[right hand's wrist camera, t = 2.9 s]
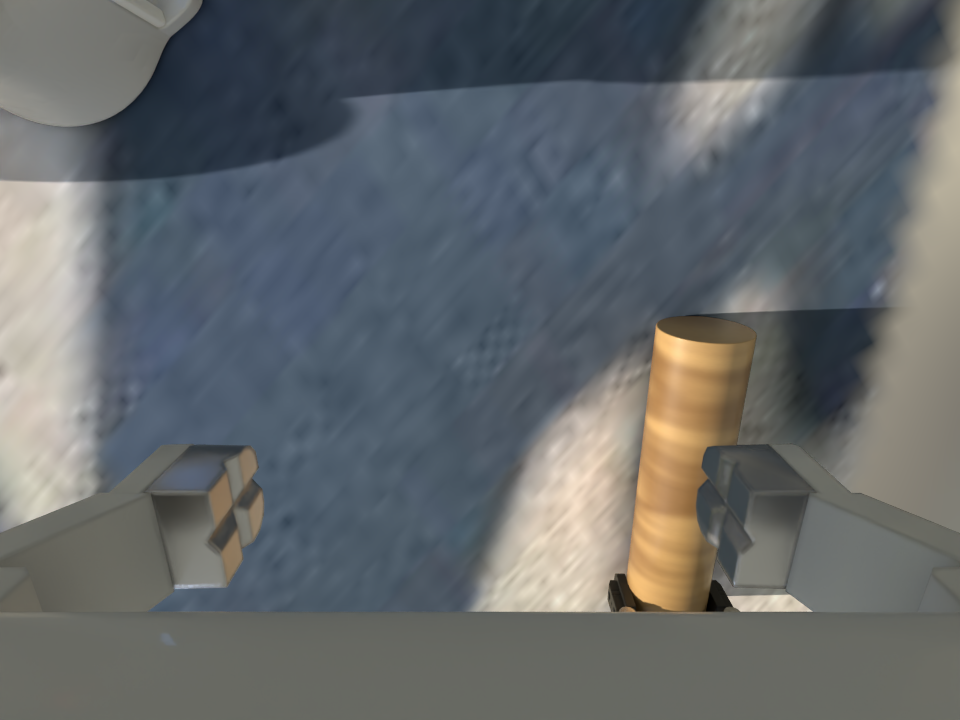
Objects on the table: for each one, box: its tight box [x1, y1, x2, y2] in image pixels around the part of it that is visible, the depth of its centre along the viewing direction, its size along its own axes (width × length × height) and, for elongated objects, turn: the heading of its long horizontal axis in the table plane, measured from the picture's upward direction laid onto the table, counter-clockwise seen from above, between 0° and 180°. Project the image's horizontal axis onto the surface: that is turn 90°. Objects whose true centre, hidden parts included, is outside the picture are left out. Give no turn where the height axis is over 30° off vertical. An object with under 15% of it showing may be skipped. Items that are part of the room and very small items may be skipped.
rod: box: [627, 316, 757, 612], centre depth 40 cm, size 25×6×6 cm, turn 0°
